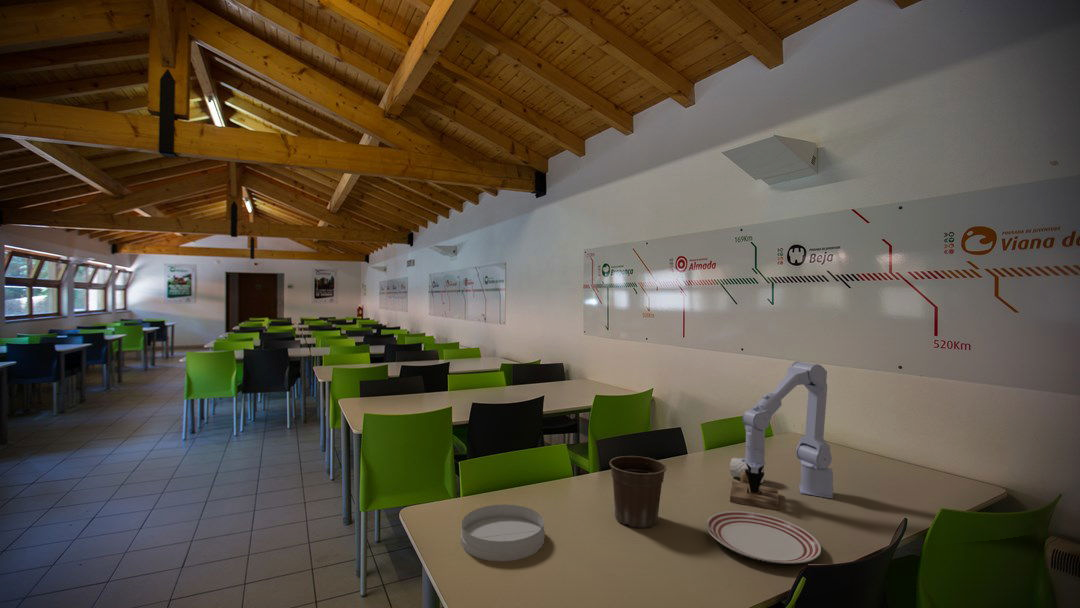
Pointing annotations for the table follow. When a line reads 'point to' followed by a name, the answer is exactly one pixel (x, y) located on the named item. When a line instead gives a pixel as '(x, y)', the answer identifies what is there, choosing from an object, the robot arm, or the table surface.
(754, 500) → the wooden board with hole
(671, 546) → the table surface
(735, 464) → the white cup
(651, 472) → the plant pot
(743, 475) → the short dowel
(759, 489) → the long dowel
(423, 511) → the table surface
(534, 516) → the dish
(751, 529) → the dinner plate
